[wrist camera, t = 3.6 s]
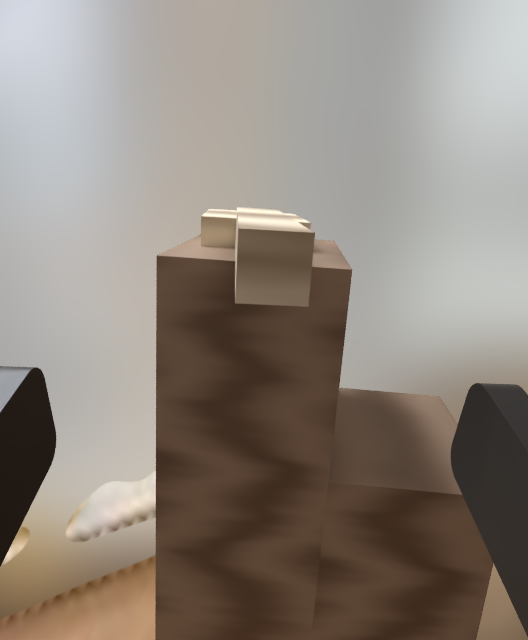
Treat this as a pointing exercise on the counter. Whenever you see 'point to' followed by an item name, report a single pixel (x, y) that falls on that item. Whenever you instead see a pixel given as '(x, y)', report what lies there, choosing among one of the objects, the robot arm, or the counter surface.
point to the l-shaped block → (264, 253)
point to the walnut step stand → (297, 474)
